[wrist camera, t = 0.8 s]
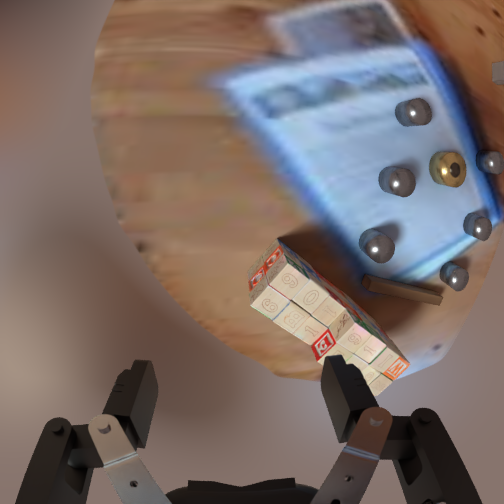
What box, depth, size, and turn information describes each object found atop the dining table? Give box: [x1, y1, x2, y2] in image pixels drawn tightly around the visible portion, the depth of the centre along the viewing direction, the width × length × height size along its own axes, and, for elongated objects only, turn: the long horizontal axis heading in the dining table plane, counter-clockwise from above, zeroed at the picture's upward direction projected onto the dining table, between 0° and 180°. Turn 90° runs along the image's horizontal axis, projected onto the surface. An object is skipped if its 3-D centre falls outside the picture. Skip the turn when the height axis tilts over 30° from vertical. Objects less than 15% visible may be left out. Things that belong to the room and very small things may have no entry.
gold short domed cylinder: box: [429, 152, 466, 187], centre depth 35 cm, size 5×5×4 cm
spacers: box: [359, 98, 504, 291], centre depth 36 cm, size 24×22×4 cm
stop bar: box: [361, 274, 443, 306], centre depth 41 cm, size 2×15×2 cm, turn 75°
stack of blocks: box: [248, 239, 410, 396], centre depth 36 cm, size 21×6×12 cm, turn 50°
